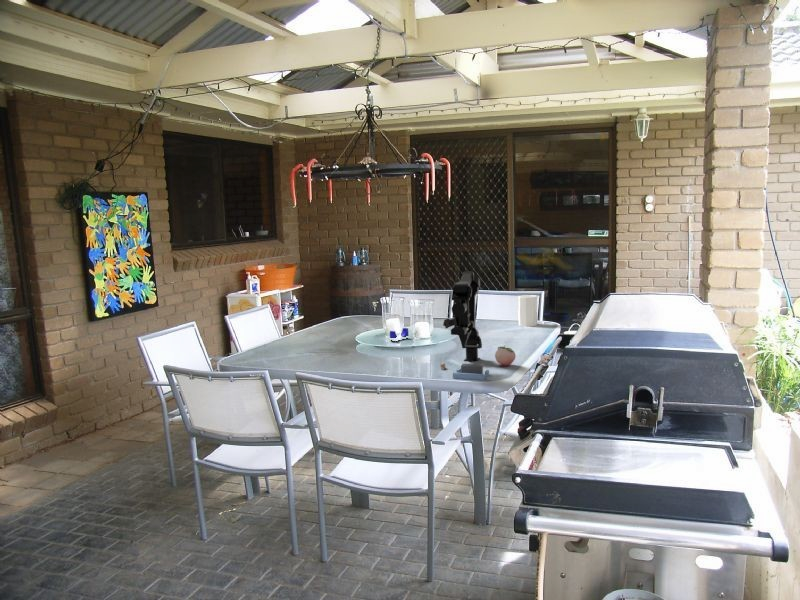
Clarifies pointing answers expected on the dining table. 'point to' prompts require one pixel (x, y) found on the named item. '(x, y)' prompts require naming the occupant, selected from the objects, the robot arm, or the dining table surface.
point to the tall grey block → (472, 368)
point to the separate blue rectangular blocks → (469, 375)
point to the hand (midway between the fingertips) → (463, 346)
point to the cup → (527, 310)
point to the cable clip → (403, 334)
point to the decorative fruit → (505, 356)
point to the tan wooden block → (442, 366)
